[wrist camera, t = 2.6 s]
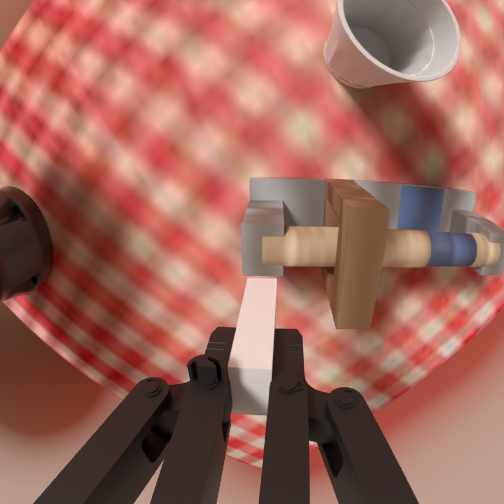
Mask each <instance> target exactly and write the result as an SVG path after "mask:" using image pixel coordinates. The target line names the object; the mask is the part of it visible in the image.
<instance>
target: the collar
mask: <svg viewBox="0 0 504 504" xmlns="http://www.w3.org/2000/svg"><path fill="white" fill-rule="evenodd" d="M389 216H390V209H389V208H388V207H386V206H385V205H384V204H383V203H381V202H380V201H379V200H378V199H376V198H375V197H374V196H373V195H371V194H370V193H369V192H368V191H366V190H365V189H364V188H362V187H361V186H360V185H358V184H357V183H356V182H355V181H353V180H344V179H325V199H324V218H323V227H339V228H338V240H337V251H336V261H335V267H321V271H322V275H323V279H324V282H325V286H326V290H327V294H328V298H329V302H330V306H331V310H332V314H333V318H334V322H335V327H336V329H356V328H370V326H371V322H372V317H373V313H374V308H375V303H376V298H377V293H378V288H379V283H380V277H381V272H382V266H383V260H384V253H385V247H386V240H387V232H388V225H389Z"/></svg>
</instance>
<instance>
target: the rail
mask: <svg viewBox="0 0 504 504" xmlns="http://www.w3.org/2000/svg"><path fill="white" fill-rule="evenodd" d="M353 181H355V182H356V183H357V184H358V185H360V186H361V187H362V188H364V189H365V190H366V191H368V192H369V193H370V194H371V195H373V196H374V197H375V198H376V199H378V200H379V201H380V202H381V203H383V204H384V205H385V206H386V207H388V208H389V209H390V216H389V225H388V232H387V240H386V247H385V253H384V260H383V266H382V267H425V266H466V267H472V268H473V269H474V270H475V271H476V272H477V273H478V274H480V275H502V272H503V268H504V229H503V228H501V227H500V226H498V225H496V224H495V223H493V222H491V221H490V220H488V219H486V218H485V217H483V216H481V215H480V214H478V213H476V212H474V211H473V210H474V204H475V197H476V193H475V192H473V191H466V190H459V189H451V188H442V187H433V186H424V185H414V184H402V183H390V182H377V181H362V180H353ZM324 199H325V179H319V178H250V202H249V204H248V207H247V210H246V212H245V215H244V218H243V220H242V223H241V241H242V270H243V275H244V276H283V266H296V267H335V261H336V251H337V240H338V228H339V227H323V218H324Z"/></svg>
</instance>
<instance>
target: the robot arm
mask: <svg viewBox="0 0 504 504" xmlns="http://www.w3.org/2000/svg"><path fill="white" fill-rule="evenodd" d="M51 267H52V246H51V240H50V236H49V232H48V229H47V226H46V224H45V221H44V219H43V217H42V215H41V213H40V211H39V209H38V208H37V206H36V205H35V203H34V202H33V201H32V200H31V199H30V197H29V196H28V195H26V194H25V193H24V192H23V191H21V190H20V189H18V188H15V187H3V188H1V189H0V302H2V301H5V300H8V299H11V298H15V297H18V296H21V295H24V294H28V293H31V292H33V291H34V290H36V289H37V288H38V287H39V286H40V285H42V284H43V283H44V282H45V281H46V280H47V278H48V276H49V274H50V271H51ZM276 295H277V279H271V278H248V279H247V284H246V288H245V293H244V297H243V302H242V306H241V310H240V315H239V319H238V323H237V328H231V327H217V328H216V329H215V330H214V331H213V332H212V333H211V336H210V339H209V343H208V345H207V349H206V351H205V354H204V355H199V356H196V357H194V358H193V359H191V360H190V361H189V363H188V364H187V367H188V372H189V376H190V381H188V382H186V383H182V384H176V385H168V384H167V383H166V381H164V380H163V379H161V378H156V377H151V378H146V379H144V380H141V381H140V382H139V383H138V384H137V385H136V386H135V387H134V388H133V389H132V391H131V392H130V393H129V394H128V395H127V396H126V397H125V399H124V400H123V401H122V402H121V403H120V404H119V405H118V407H117V408H116V409H115V410H114V411H113V412H112V414H111V415H110V416H109V417H108V418H107V419H106V420H105V422H104V423H103V424H102V425H101V426H100V427H99V428H98V430H97V431H96V432H95V433H94V434H93V435H92V437H91V438H90V439H89V440H88V441H87V443H85V445H84V446H83V447H82V448H81V449H80V450H79V451H78V453H77V454H76V455H75V456H74V457H73V458H72V460H71V461H70V462H69V463H68V464H67V465H66V466H65V468H64V469H63V470H62V471H61V472H60V473H59V475H58V476H57V477H56V478H55V479H54V480H53V481H52V483H51V484H50V485H49V486H48V487H47V488H46V489H45V491H44V492H43V493H42V494H41V496H39V498H38V499H37V500H36V501H35V502H34V504H133V503H134V502H135V501H136V499H137V498H138V497H139V495H140V494H141V492H142V491H143V489H144V488H145V486H146V485H147V483H148V482H149V480H150V479H151V478H152V476H153V475H154V473H155V471H156V470H157V469H158V467H159V466H160V464H161V462H162V461H163V460H164V462H163V465H162V468H161V471H160V474H159V477H158V480H157V483H156V486H155V490H154V493H153V496H152V499H151V502H150V504H216V503H217V498H218V493H219V487H220V482H221V476H222V471H223V465H224V460H225V455H226V449H227V443H228V438H229V432H230V427H231V419H230V415H231V410H232V413H236V414H250V415H267V422H266V434H265V445H264V456H263V466H262V477H261V486H260V496H259V504H310V498H309V497H310V492H309V491H310V489H309V487H310V484H309V483H310V482H309V481H310V478H309V477H310V476H309V441H313V442H317V444H318V447H319V450H320V452H321V455H322V458H323V461H324V464H325V466H326V469H327V472H328V475H329V477H330V480H331V483H332V486H333V489H334V492H335V494H336V497H337V500H338V503H339V504H419V503H418V501H417V499H416V497H415V495H414V493H413V491H412V489H411V487H410V485H409V483H408V481H407V479H406V477H405V475H404V473H403V471H402V469H401V467H400V465H399V463H398V462H397V460H396V458H395V456H394V454H393V452H392V450H391V448H390V446H389V444H388V442H387V441H386V439H385V437H384V435H383V433H382V431H381V429H380V427H379V426H378V424H377V422H376V420H375V418H374V416H373V414H372V413H371V411H370V409H369V407H368V405H367V403H366V401H365V400H364V398H363V396H362V395H361V394H360V393H359V392H358V391H356V390H355V389H352V388H348V387H342V388H337V389H335V390H333V391H332V392H331V393H326V392H321V391H318V390H315V389H314V388H312V387H311V386H310V385H309V384H308V383H307V382H306V380H305V375H304V357H303V340H302V335H301V334H300V332H299V331H298V330H297V329H275V328H276ZM164 458H165V459H164Z"/></svg>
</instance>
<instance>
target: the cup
mask: <svg viewBox="0 0 504 504" xmlns="http://www.w3.org/2000/svg"><path fill="white" fill-rule="evenodd" d="M460 51H461V35H460V30H459V26H458V23H457V20H456V18H455V16H454V14H453V12H452V10H451V8H450V7H449V5H448V4H447V2H446V1H445V0H337V4H336V9H335V13H334V21H333V24H332V28H331V31H330V35H329V37H328V39H327V41H326V43H325V45H324V50H323V56H324V61H325V64H326V66H327V68H328V70H329V72H330V73H331V74H332V75H333V76H334V77H335V78H336V79H337V80H338V81H340V82H341V83H343V84H345V85H347V86H349V87H353V88H358V89H365V88H370V87H373V86H378V85H386V84H394V83H406V82H425V81H432V80H436V79H439V78H441V77H443V76H445V75H446V74H447V73H449V72H450V71H451V70H452V69H453V67H454V66H455V64H456V63H457V61H458V58H459V55H460Z"/></svg>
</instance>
